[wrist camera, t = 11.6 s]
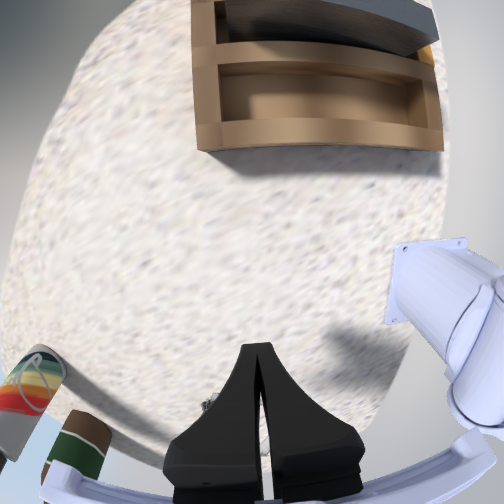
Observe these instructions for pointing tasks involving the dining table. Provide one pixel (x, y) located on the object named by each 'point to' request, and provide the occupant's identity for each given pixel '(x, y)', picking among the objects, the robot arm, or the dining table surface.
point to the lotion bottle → (27, 398)
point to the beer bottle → (80, 445)
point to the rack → (307, 92)
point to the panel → (335, 23)
